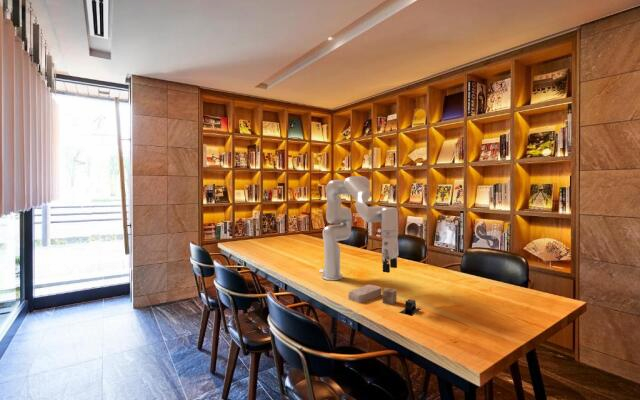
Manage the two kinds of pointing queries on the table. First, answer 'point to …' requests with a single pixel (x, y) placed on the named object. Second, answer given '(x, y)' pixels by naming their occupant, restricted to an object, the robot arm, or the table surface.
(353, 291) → the brick
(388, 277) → the table surface
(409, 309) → the black piece
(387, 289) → the brown wooden block
